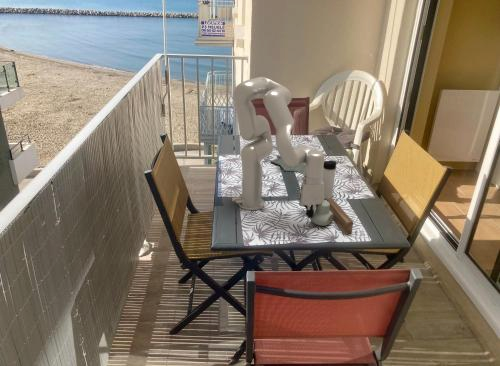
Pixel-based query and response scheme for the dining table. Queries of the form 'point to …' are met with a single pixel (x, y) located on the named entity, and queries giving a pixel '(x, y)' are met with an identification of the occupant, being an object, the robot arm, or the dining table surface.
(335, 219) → the board
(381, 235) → the dining table surface
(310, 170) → the robot arm
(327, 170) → the travel mug
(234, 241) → the dining table surface
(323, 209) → the air freshener
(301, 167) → the decorative slab
